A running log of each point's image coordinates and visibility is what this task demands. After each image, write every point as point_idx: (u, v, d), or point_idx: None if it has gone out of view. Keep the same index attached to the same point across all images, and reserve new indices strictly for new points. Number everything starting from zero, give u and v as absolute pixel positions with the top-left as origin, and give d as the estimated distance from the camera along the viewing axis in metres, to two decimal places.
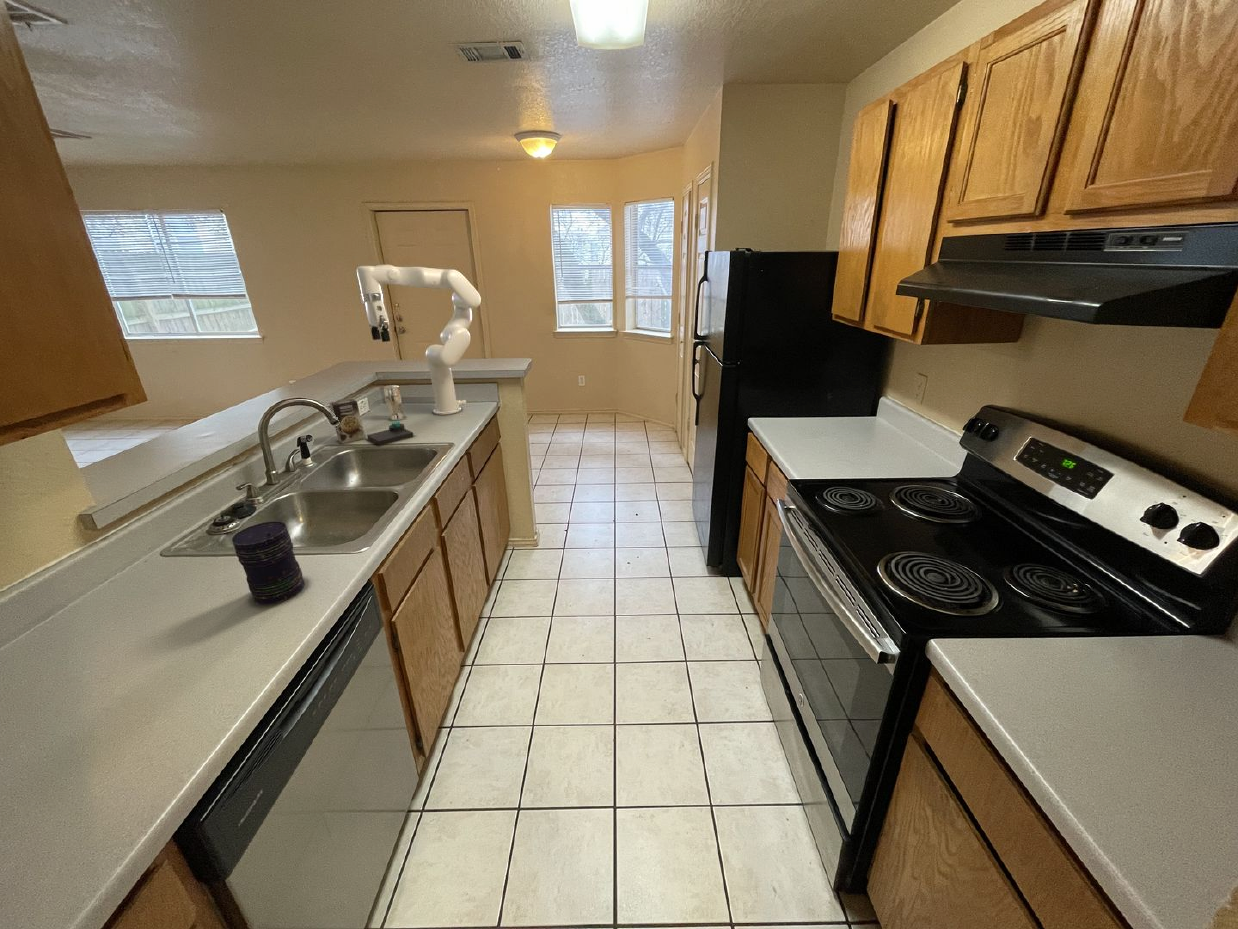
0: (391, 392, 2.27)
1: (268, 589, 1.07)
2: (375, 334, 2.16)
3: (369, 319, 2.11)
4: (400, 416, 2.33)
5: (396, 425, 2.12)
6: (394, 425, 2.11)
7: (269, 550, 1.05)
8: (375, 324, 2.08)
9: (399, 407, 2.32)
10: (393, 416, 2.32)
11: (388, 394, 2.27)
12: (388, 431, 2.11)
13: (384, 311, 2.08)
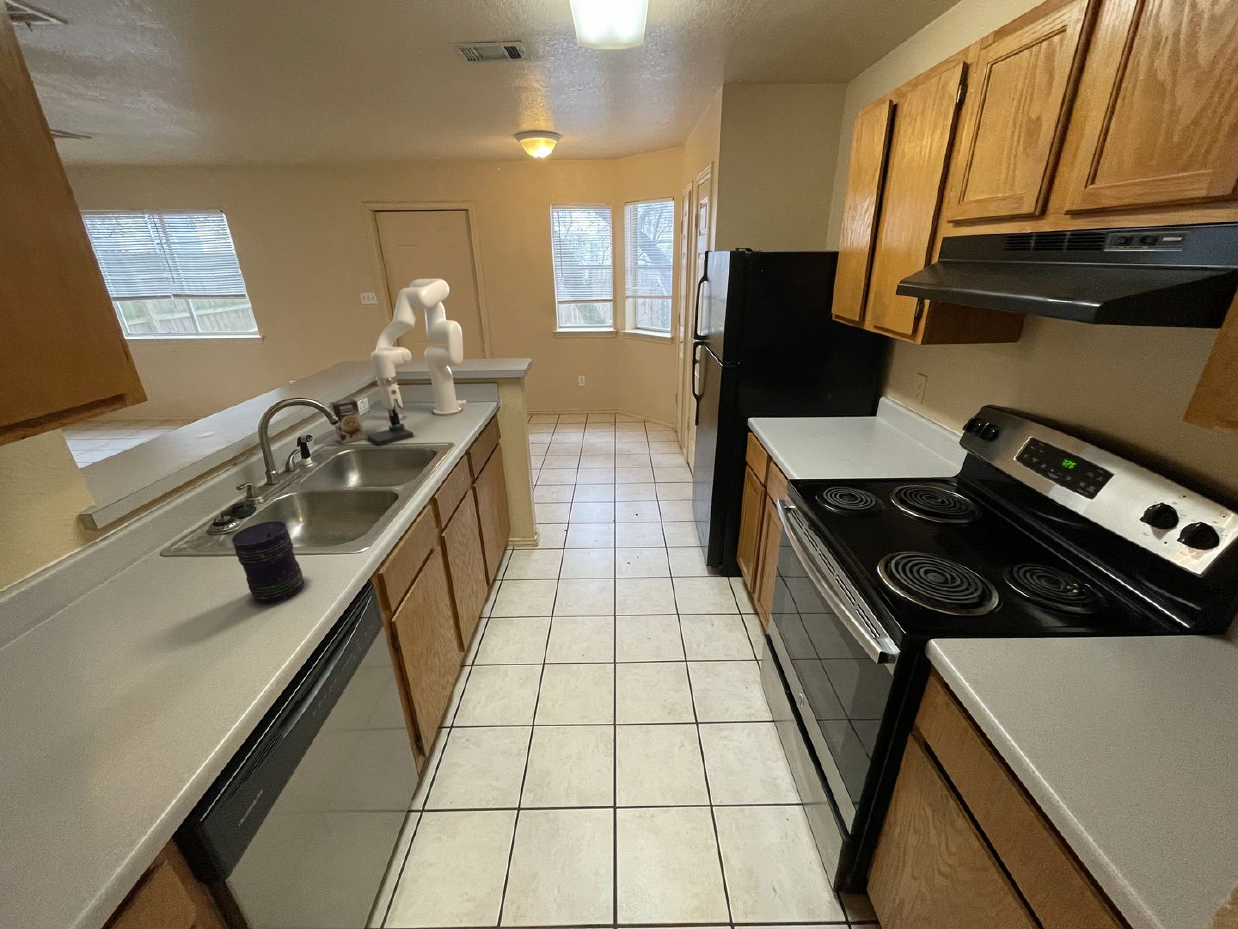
0: None
1: (268, 589, 1.07)
2: None
3: (383, 401, 2.09)
4: (400, 416, 2.33)
5: (396, 426, 2.12)
6: (394, 426, 2.12)
7: (268, 550, 1.05)
8: (389, 407, 2.06)
9: None
10: None
11: None
12: (388, 431, 2.11)
13: (398, 394, 2.06)
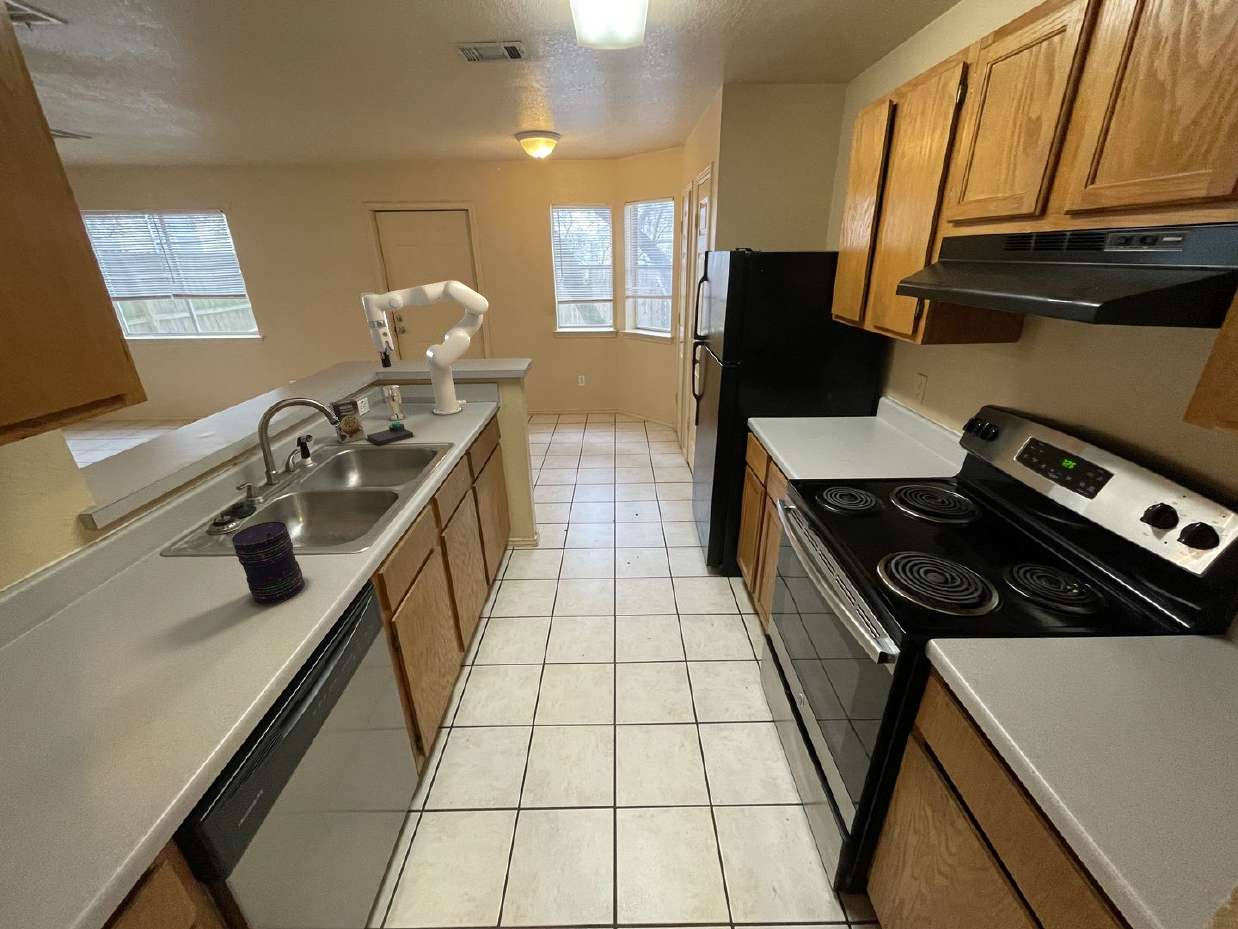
0: (391, 392, 2.27)
1: (268, 589, 1.07)
2: None
3: (374, 344, 2.20)
4: (400, 416, 2.33)
5: (396, 425, 2.12)
6: (394, 425, 2.11)
7: (268, 550, 1.05)
8: (381, 349, 2.18)
9: (399, 407, 2.32)
10: (393, 416, 2.32)
11: (388, 394, 2.27)
12: (388, 431, 2.11)
13: (389, 337, 2.17)
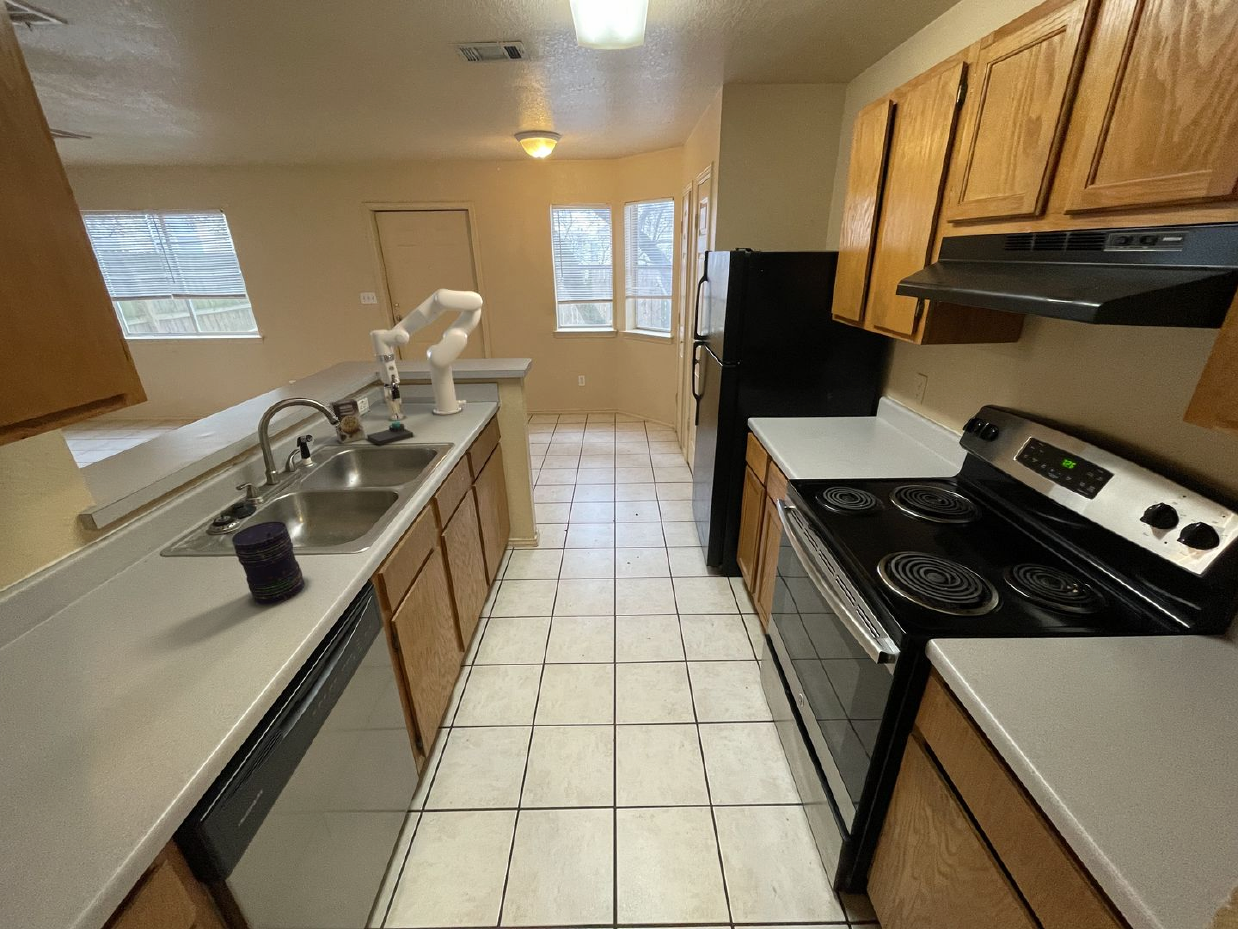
0: (391, 392, 2.27)
1: (268, 589, 1.07)
2: None
3: (381, 377, 2.28)
4: (400, 416, 2.33)
5: (396, 425, 2.12)
6: (394, 425, 2.11)
7: (268, 550, 1.05)
8: (387, 382, 2.25)
9: (399, 407, 2.32)
10: (393, 416, 2.32)
11: (388, 394, 2.27)
12: (388, 431, 2.11)
13: (395, 370, 2.25)
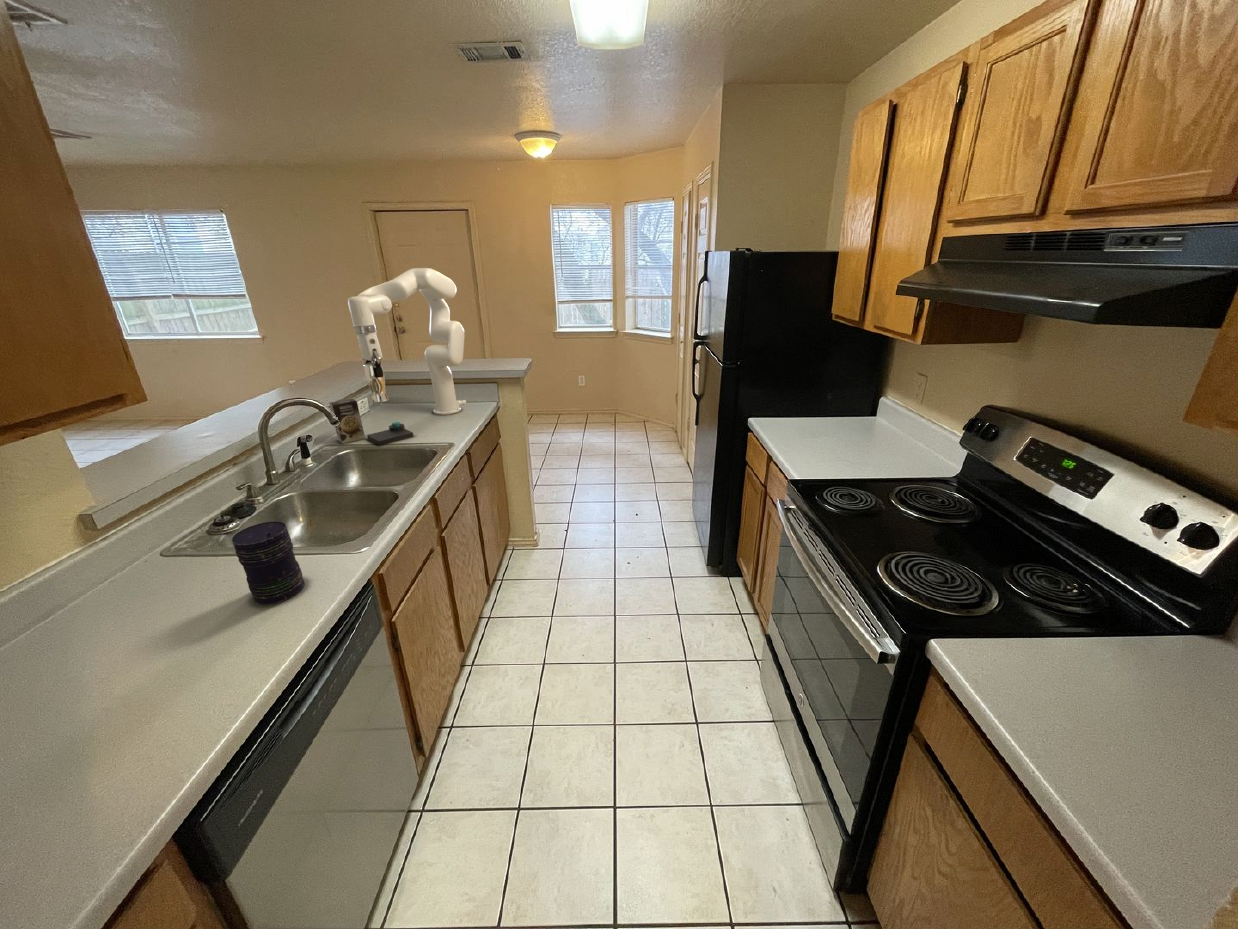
0: (372, 369, 1.97)
1: (268, 589, 1.07)
2: None
3: (361, 352, 1.97)
4: (383, 398, 2.02)
5: (396, 425, 2.12)
6: (394, 425, 2.11)
7: (268, 550, 1.05)
8: (368, 358, 1.95)
9: (382, 387, 2.01)
10: (375, 398, 2.01)
11: (369, 372, 1.97)
12: (388, 431, 2.11)
13: (377, 344, 1.94)
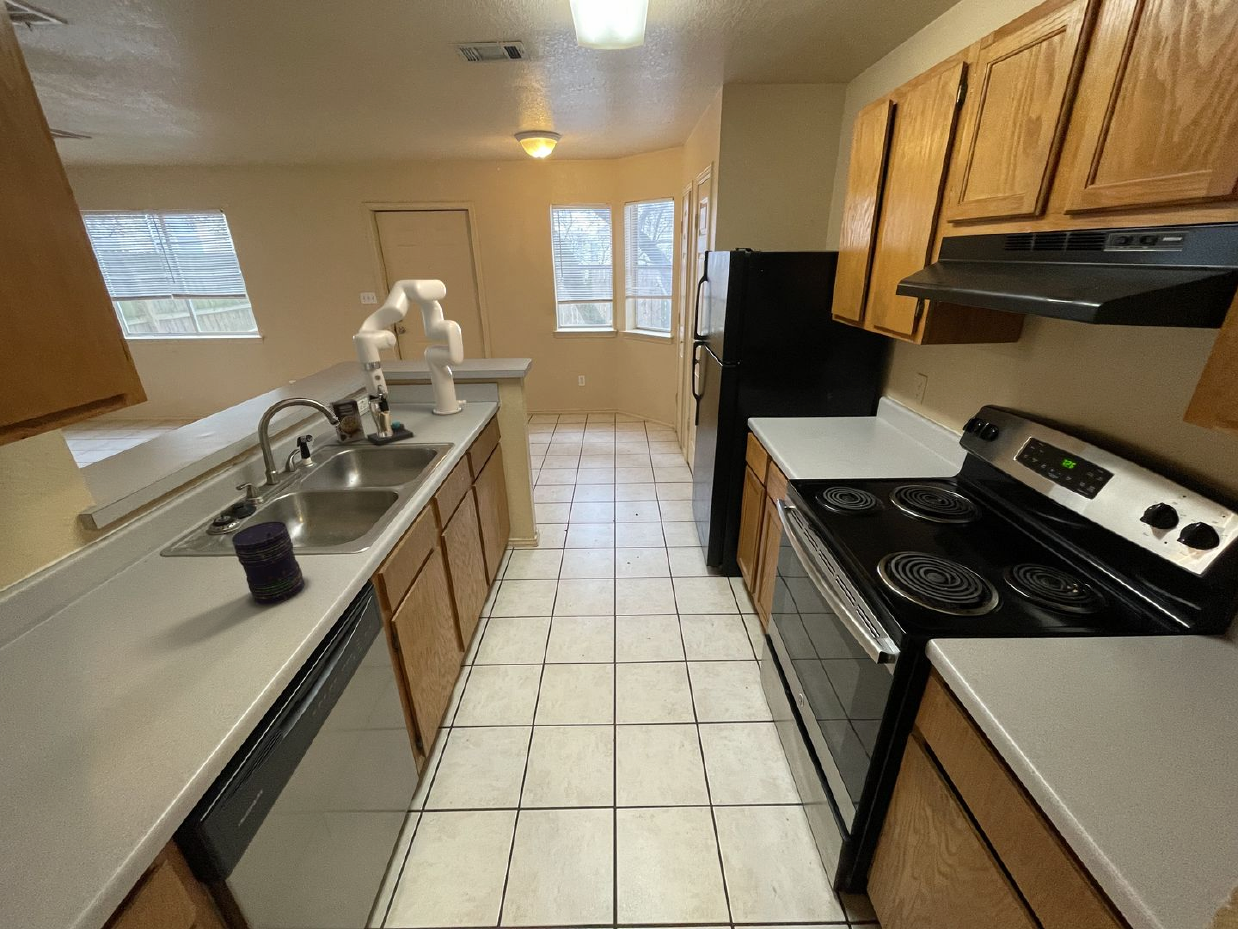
0: (378, 406, 1.98)
1: (268, 589, 1.07)
2: None
3: (367, 387, 1.98)
4: (389, 434, 2.03)
5: (396, 425, 2.12)
6: (394, 425, 2.11)
7: (268, 550, 1.05)
8: (373, 394, 1.95)
9: (387, 423, 2.02)
10: (380, 434, 2.02)
11: (374, 409, 1.98)
12: None
13: (383, 380, 1.95)
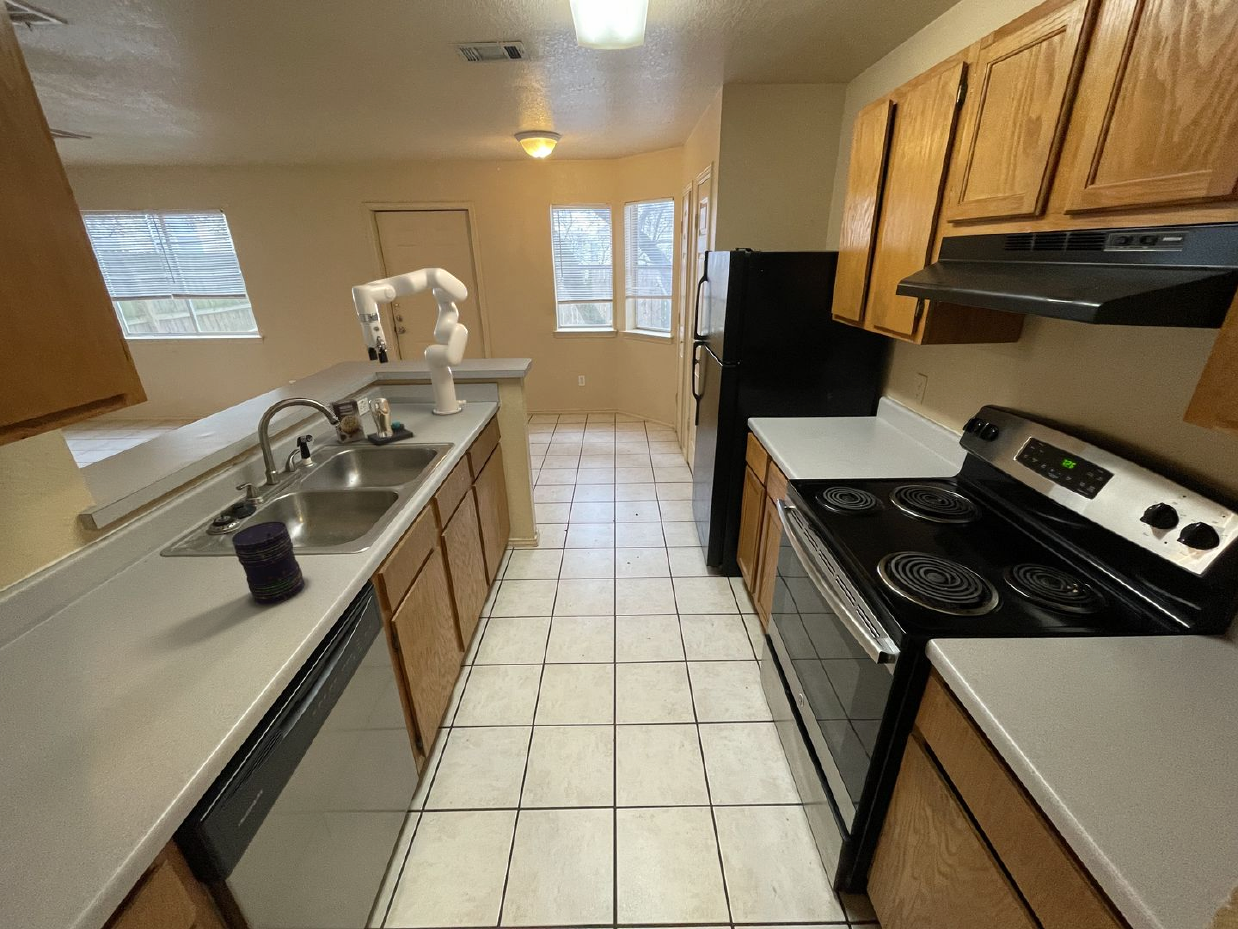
0: (378, 406, 1.98)
1: (268, 589, 1.07)
2: (372, 355, 2.08)
3: (366, 340, 2.03)
4: (389, 434, 2.03)
5: (396, 425, 2.12)
6: (394, 425, 2.11)
7: (268, 550, 1.05)
8: (372, 345, 2.01)
9: (387, 423, 2.02)
10: (380, 434, 2.02)
11: (374, 409, 1.98)
12: None
13: (381, 332, 2.00)
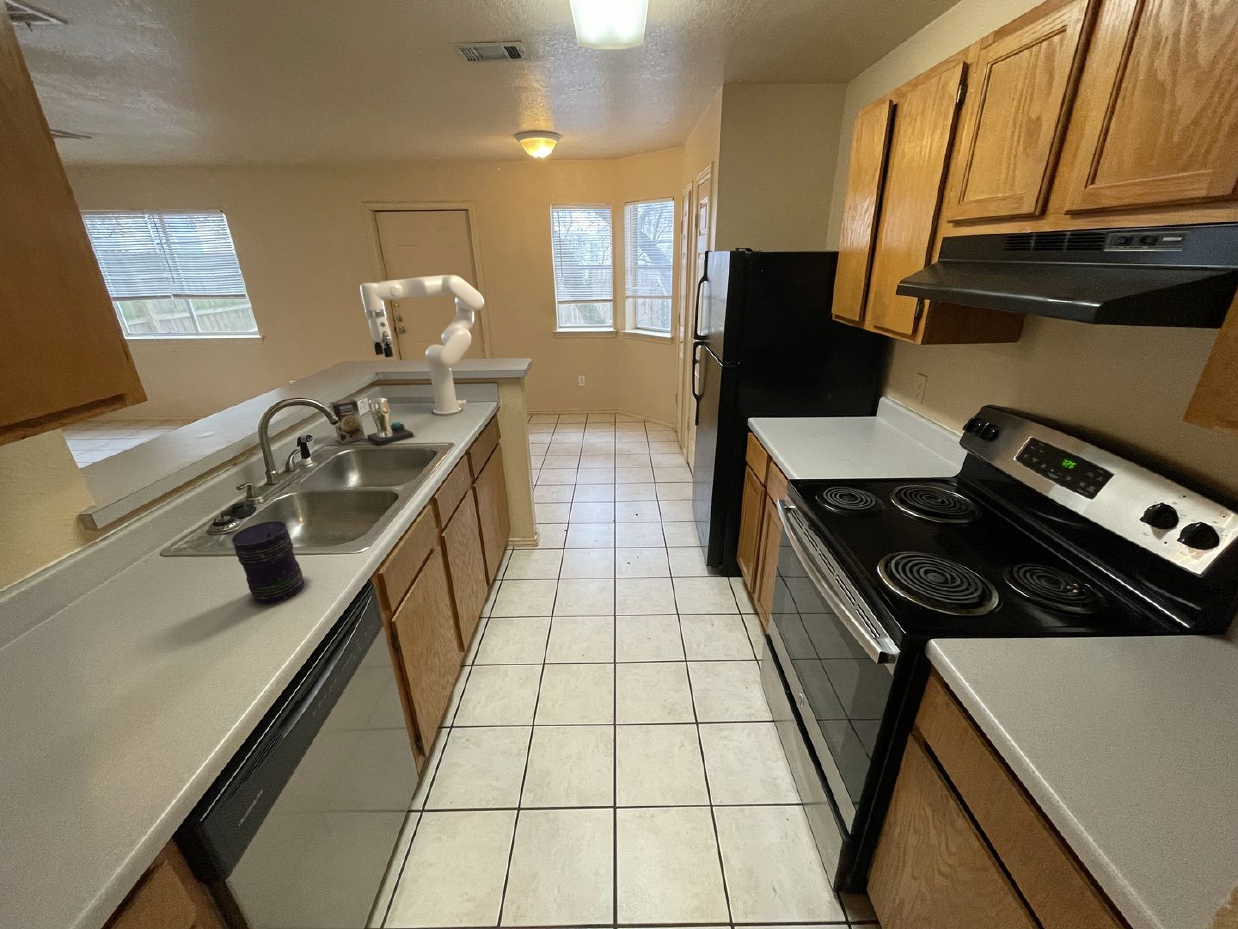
0: (378, 406, 1.98)
1: (268, 589, 1.07)
2: (378, 349, 2.18)
3: (372, 335, 2.13)
4: (389, 434, 2.03)
5: (396, 425, 2.12)
6: (394, 425, 2.11)
7: (268, 550, 1.05)
8: (378, 340, 2.11)
9: (387, 423, 2.02)
10: (380, 434, 2.02)
11: (374, 409, 1.98)
12: None
13: (387, 327, 2.10)
